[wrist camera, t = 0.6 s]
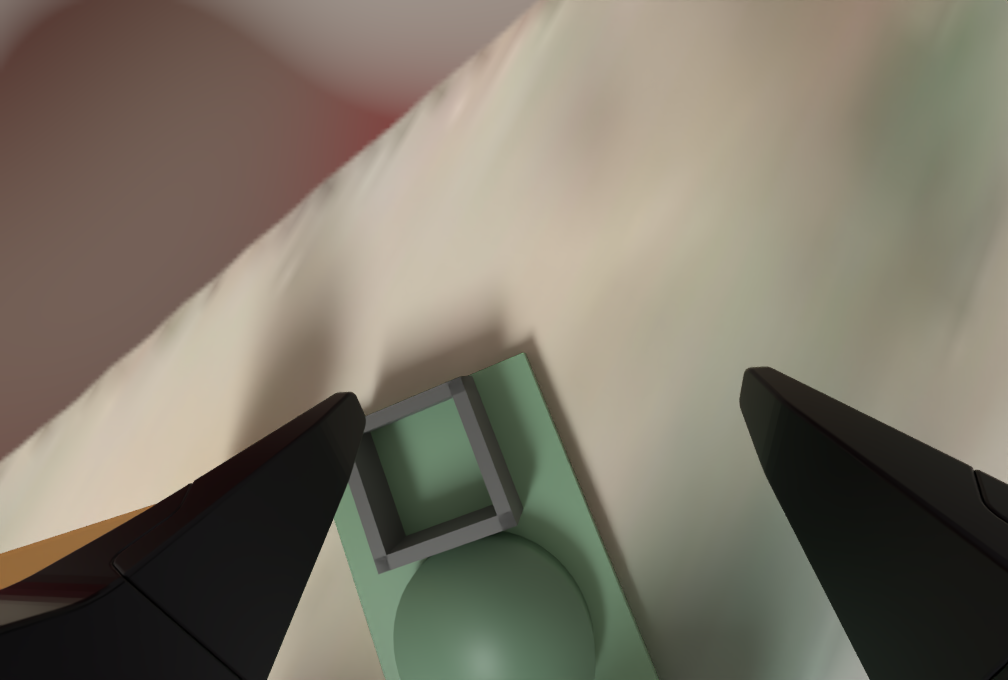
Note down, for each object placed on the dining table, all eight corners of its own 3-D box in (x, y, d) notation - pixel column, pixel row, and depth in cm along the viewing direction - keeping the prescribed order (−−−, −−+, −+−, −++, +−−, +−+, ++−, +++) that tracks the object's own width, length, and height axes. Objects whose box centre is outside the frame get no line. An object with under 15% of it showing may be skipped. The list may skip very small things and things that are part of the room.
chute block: (292, 521, 26) (44, 653, 14) (252, 573, 27) (-25, 747, 14) (246, 473, 27) (-24, 558, 15) (207, 523, 28) (-89, 647, 15)
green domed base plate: (663, 690, 22) (680, 751, 18) (422, 756, 24) (395, 822, 20) (525, 353, 24) (517, 350, 21) (319, 439, 26) (281, 449, 23)
